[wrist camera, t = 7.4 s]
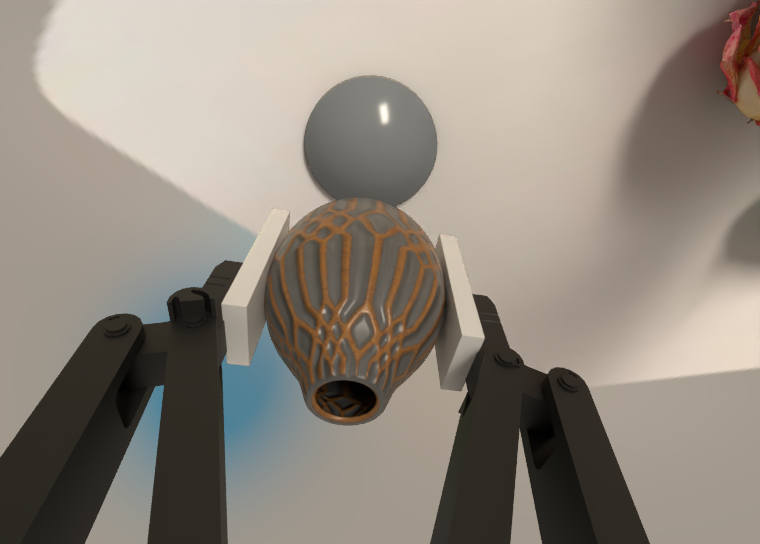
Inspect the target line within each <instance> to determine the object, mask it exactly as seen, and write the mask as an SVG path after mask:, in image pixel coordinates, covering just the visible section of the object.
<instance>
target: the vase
mask: <svg viewBox="0 0 760 544" xmlns="http://www.w3.org/2000/svg"><path fill="white" fill-rule="evenodd" d="M444 309H445V283H444V277H443V272H442V268H441V264H440V261H439V258H438V255H437V253H436V250H435V248H434V246H433V244H432V242H431V241H430V239H429V238H428V236H427V235H426V233H425V232H424V231H423V229H422V228H421V227H420V226H419V225H418V224H417V223H416V222H415V221H414V220H413V219H412V218H411V217H410V216H408V215H407V214H406V213H404V212H403V211H401V210H400V209H398V208H396V207H394V206H392V205H390V204H387V203H385V202H382V201H378V200H374V199H369V198H347V199H341V200H336V201H333V202H330V203H327V204H325V205H322V206H320V207H318V208H317V209H315V210H313V211H312V212H310V213H309V214H307V215H306V216H304V217H303V218H302V219H301V220H300V221H299V222H298V223H297V224H296V225H295V226H294V227H293V228H292V229H291V230H290V231H289V232H288V234H287V235H286V237H285V238H284V240H283V241H282V243H281V244H280V246H279V248H278V250H277V252H276V254H275V256H274V258H273V261H272V263H271V266H270V269H269V272H268V277H267V282H266V289H265V313H266V320H267V326H268V330H269V333H270V337H271V340H272V342H273V344H274V346H275V348H276V350H277V352H278V354H279V355H280V356H281V358H282V360H283V361H284V363H285V364H286V365H287V367H288V368H289V370H290V371H291V372H292V374H293V375H294V376H295V377H296V379H297V380H298V381H299V383H300V386H301V389H302V393H303V397H304V400H305V403H306V405H307V407H308V409H309V410H310V411H311V412H312V413H313V414H314V415H315V416H317V417H318V418H320V419H322V420H324V421H326V422H329V423H333V424H337V425H359V424H364V423H367V422H370V421H372V420H374V419H375V418H377V417H378V416H379V415H380V414H381V413H382V412H383V411H384V410H385V408H386V406H387V404H388V402H389V400H390V398H391V396H392V394H393V393H394V391H395V390H396V389H397V388H398V387H399V386H400V385H401V384H402V383H403V382H404V381H406V380H407V379H408V378H409V377H410V376H411V375H412V374H413V373H414V372H415V371H416V370H417V369H418V368H419V367H420V366H421V365H422V363H423V362H424V361H425V359H426V358H427V357H428V355H429V353H430V352H431V350H432V348H433V346H434V344H435V342H436V340H437V337H438V334H439V331H440V328H441V324H442V320H443V316H444Z"/></svg>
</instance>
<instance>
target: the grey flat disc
mask: <svg viewBox="0 0 760 544" xmlns="http://www.w3.org/2000/svg"><path fill="white" fill-rule="evenodd" d="M305 152H306V158H307V161H308V165H309V167H310V169H311V172H312V174H313V175H314V177H315V179H316V180H317V182H318V183H319V184H320V186H321V187H322V188H323V189H324V190H325V191H326V192H327V193H328V194H330V195H331V196H332V197H333V198H335V199H337V200H341V199H347V198H369V199H374V200H378V201H382V202H385V203H387V204H390V205H392V206H396V205H398V204H400V203H402V202H404V201H406V200H408V199H409V198H410V197H412V196H413V195H414V194H415V193H416V192H418V191H419V190H420V188H421V187H422V186H423V185H424V184H425V182H426V181H427V179H428V177H429V176H430V174H431V171H432V169H433V166H434V163H435V160H436V154H437V134H436V130H435V125H434V123H433V120H432V117H431V115H430V113H429V111H428V109H427V107H426V106H425V104H424V103H423V102H422V100H421V99H420V98H419V97H418V96H417V95H416V94H415V93H414V92H413V91H412V90H410V89H409V88H408V87H406V86H405V85H403V84H401V83H400V82H397V81H395V80H393V79H390V78H386V77H382V76H373V75H372V76H359V77H354V78H351V79H348V80H345V81H343V82H341V83H339V84H337V85H336V86H334V87H333V88H331V89H330V90H329V91H328V92H327V93H326V94H325V95H324V96H323V97H322V98H321V99H320V100H319V102H318V103H317V104H316V106H315V108H314V109H313V111H312V113H311V115H310V118H309V120H308V123H307V127H306V132H305Z"/></svg>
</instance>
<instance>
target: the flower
mask: <svg viewBox="0 0 760 544" xmlns="http://www.w3.org/2000/svg"><path fill="white" fill-rule="evenodd" d="M759 3H760V1H759V0H758V1H757V2H755V1H754V2H752V3H751V5H750V7H748V8H746V9H742V10H736V11H734V12H731V13H729V15H730V19H729V20H726V21H731V22H732V30H733V33H732V35H731V36H730V38H729V39H728V41H727V42H726V44H725V47H724V50H723V56H722V61H721V63H720V68H721V70H722V71H723V73H724V75H725V77H726V78H727V80H728V84H727V86H726V88H725V90H724V91H723V92H719V91H717V90H715V89H714V90H715V91H716V92H718V93H719V94H722V95H724V96H725V97H726V98H728V99H729V100H730V101H732V102H733V103H734V104H736V106H737V107H738V108H739V110H740V111H741V112H742V113H743V114H744V115H746V116H747V117H748V118H751V120H750V121H749V122H751V121H753V120H755V122H756V124H757V126H760V17H759V22H758V24H757V26H756V30H755V33H754V35H753V38H752V39H751V30H750V20H751V18H752V17H753V15H754V13H755V11H756V10H757V7H758V5H759ZM724 22H725V21H724ZM749 122H748V123H749Z"/></svg>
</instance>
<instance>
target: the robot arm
mask: <svg viewBox="0 0 760 544" xmlns="http://www.w3.org/2000/svg"><path fill="white" fill-rule="evenodd" d="M289 219H290V211H286V210H279V209H272V211H271V212H270V214H269V216H268V218H267V220H266V222H265V224H264V225H263V227H262V229H261V231H260V233H259V235H258V237H257V238H256V240H255V242H254V244H253V246H252V248H251V250H250V251H249V253H248V255H247V257H246V259H245V261H244V263H240V262H233V261H226V260H225V261H224V262H223V263H221V264H219V265H218V266H216V267H215V269H214V270H213V272H212V273H211V275H210V277H209V278H208V279H207V281H206V283H205V284H204V286H203V287H202V288H198V287H190V288H185V289H181V290H179V291H177V292H175V293H174V294H173V295H171V296H170V297H169V299H168V301H167V306H168V311H169V316H170V321H168V322H163V323H154V324H144V325H143V324H142V322H141V319H140V318H138V317H137V316H135V315H131V314H116V315H113V316H109V317H106V318H105V319H102V320H101V321H99V322H98V323H97V324H96V325H95V326H93V328H92V329H91V330H90V332H89V333H88V335H87V336H86V338H85V339H84V340H83V342H82V343H81V345H80V346H79V347H78V349H77V350H76V352H75V353H74V354H73V356H72V357H71V359H70V360H69V362H68V363H67V364H66V366H65V367H64V369H63V370H62V371H61V373H60V374H59V375H58V377H57V378H56V380H55V381H54V383H53V384H52V385H51V387H50V388H49V390H48V391H47V392H46V394H45V395H44V397H43V398H42V399H41V401H40V402H39V404H38V405H37V407H36V408H35V409H34V411H33V412H32V414H31V415H30V416H29V418H28V419H27V421H26V422H25V423H24V425H23V426H22V428H21V429H20V431H19V432H18V434H17V435H16V437H15V438H14V439H13V441H12V442H11V443H10V445H9V446H8V447H7V449H6V450H5V452H4V453H3V455H2V456H1V457H0V544H85V541H86V539H87V537H88V535H89V533H90V530H91V528H92V526H93V524H94V522H95V519H96V517H97V515H98V513H99V510H100V508H101V506H102V504H103V501H104V499H105V497H106V495H107V493H108V490H109V488H110V486H111V484H112V481H113V479H114V477H115V475H116V473H117V470H118V468H119V466H120V463H121V461H122V459H123V457H124V455H125V452H126V450H127V448H128V446H129V444H130V441H131V439H132V437H133V435H134V432H135V430H136V428H137V425H138V423H139V421H140V419H141V417H142V414H143V412H144V410H145V408H146V406H147V403H148V401H149V399H150V397H151V394H152V392H153V390H154V388H155V386H160V385H164V392H163V401H162V411H161V420H160V430H159V439H158V448H157V458H156V467H155V477H154V486H153V496H152V505H151V515H150V524H149V534H148V544H228V539H227V508H226V476H225V445H224V414H223V386H222V385H223V382H222V365H221V363H222V361H223V359H224V356H225V355H226V358H227V364H235V365H244V366H249V365H250V363H251V360H252V357H253V354H254V352H255V349H256V346H257V344H258V341H259V338H260V336H261V333H262V330H263V327H264V325H265V322H266V313H265V289H266V282H267V277H268V272H269V269H270V266H271V263H272V261H273V258H274V256H275V254H276V252H277V250H278V248H279V246H280V244H281V243H282V241H283V240H284V238H285V237H286V235H287V234H288V232H289ZM435 250H436V253H437V255H438V258H439V261H440V264H441V268H442V272H443V277H444V283H445V309H444V316H443V320H442V324H441V328H440V331H439V334H438V337H437V340H436V342H435V350H436V357H437V363H438V370H439V378H440V386H441V389H446V390H447V389H448V390H455V391H461V390H462V388H463V386H464V384H465V382H466V384H467V389H468V392H467V395H466V397H465V399H464V401H463V403H462V406H461V408H460V410H459V413H461V416H460V420H459V424H458V428H457V432H456V436H455V441H454V445H453V449H452V453H451V458H450V462H449V466H448V471H447V475H446V479H445V483H444V487H443V491H442V496H441V500H440V504H439V509H438V513H437V517H436V521H435V525H434V530H433V534H432V539H431V542H430V544H510V539H511V527H512V515H513V502H514V489H515V477H516V464H517V451H518V440H519V428H520V432H521V437H522V442H523V447H524V453H525V457H526V463H527V468H528V473H529V478H530V483H531V488H532V494H533V498H534V504H535V509H536V514H537V519H538V524H539V530H540V535H541V540H542V544H650V543H649V540H648V538H647V535H646V533H645V530H644V528H643V525H642V523H641V520H640V518H639V515H638V512H637V510H636V508H635V505H634V502H633V500H632V497H631V495H630V492H629V490H628V487H627V485H626V482H625V480H624V477H623V475H622V472H621V469H620V467H619V464H618V462H617V460H616V457H615V454H614V452H613V449H612V447H611V444H610V442H609V439H608V437H607V434H606V432H605V429H604V427H603V424H602V421H601V419H600V416H599V414H598V411H597V409H596V406H595V404H594V401H593V399H592V396H591V394H590V391H589V388H588V386H587V385H586V383H585V381H584V380H583V379H582V378H581V377H580V376H579V375H577V374H576V373H574V372H572V371H571V370H568V369H565V368H559V367H556V368H553V369H551V370H550V371H549V373H548V374H545V373H542V372H540V371H537V370H535V369H532V368H530V367H528V366H526V365H524V362H523V360H522V358H521V357H520V355H519V354H517V353H516V352H515V351H514V350H512V349H510V347H509V345H508V342H507V339H506V336H505V333H504V330H503V327H502V325H501V323H500V319H499V316H498V313H497V310H496V307H495V305H494V304H493V302H492V301H491V300H490V299H489V298H488V297H487V296H482V295H475V294H472V292H471V288H470V285H469V281H468V278H467V274H466V271H465V267H464V264H463V260H462V257H461V253H460V250H459V246H458V243H457V239H456V236H450V235H444V234H439V238H438V241H437V245H436V248H435Z"/></svg>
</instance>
